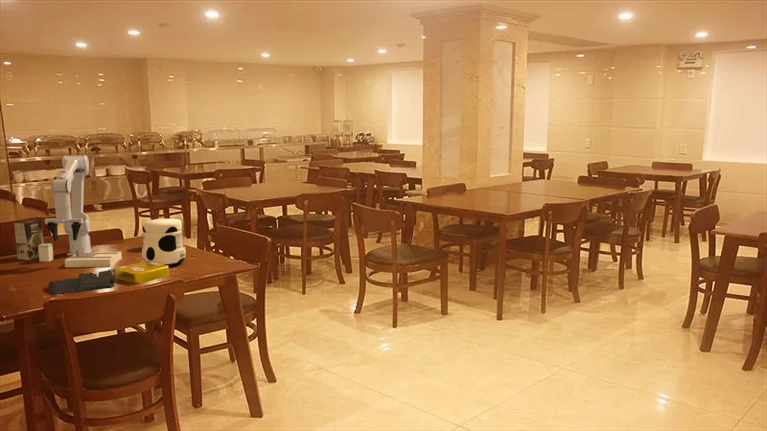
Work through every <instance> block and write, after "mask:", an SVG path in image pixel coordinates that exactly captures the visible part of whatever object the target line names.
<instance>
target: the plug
mask: <svg viewBox="0 0 767 431" xmlns="http://www.w3.org/2000/svg"><path fill="white" fill-rule="evenodd" d="M53 248H54V247H53V243H48V242H47V243H43V244H40V245H38V250H39V257H38V258H39V260H38V261H39V262H41V263H42V262H43V263H44V262H51V261H53V260H54V250H53Z"/></svg>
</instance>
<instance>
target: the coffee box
mask: <svg viewBox="0 0 767 431" xmlns="http://www.w3.org/2000/svg"><path fill="white" fill-rule="evenodd" d="M42 223H43V222H42V220H41V219H27V220H23V221H22V220H21V221H18V222H14V223H13V224H14V233H15V234H14V235H15V236H14V237H15V245H16V247H15V248H16V257H17V260H23V261H24V260H25V261H31V260H34V259H37V258H39V250H38V245H40V244H44V236H43V224H42Z"/></svg>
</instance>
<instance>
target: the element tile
mask: <svg viewBox="0 0 767 431" xmlns="http://www.w3.org/2000/svg"><path fill="white" fill-rule="evenodd" d="M169 268H170V266H168V265H163V264H159V263H154V262H149V261H140V262H136V263H131V264H128V265H127V264H126V265H122V266H119V267H118V266H117V267H115V270H114V271H115V280H119V281H120V280H121V281H124V282H127V283H131V284H144V283H147V282H152V281H155V280H158V279H163V278H167V277H169V276H170V269H169Z"/></svg>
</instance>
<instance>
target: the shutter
mask: <svg viewBox="0 0 767 431" xmlns="http://www.w3.org/2000/svg"><path fill="white" fill-rule="evenodd" d="M96 254H97V253H84V251H83V248H79V249H77V250H76V256H75V257H93V256H95V255H96Z"/></svg>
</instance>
